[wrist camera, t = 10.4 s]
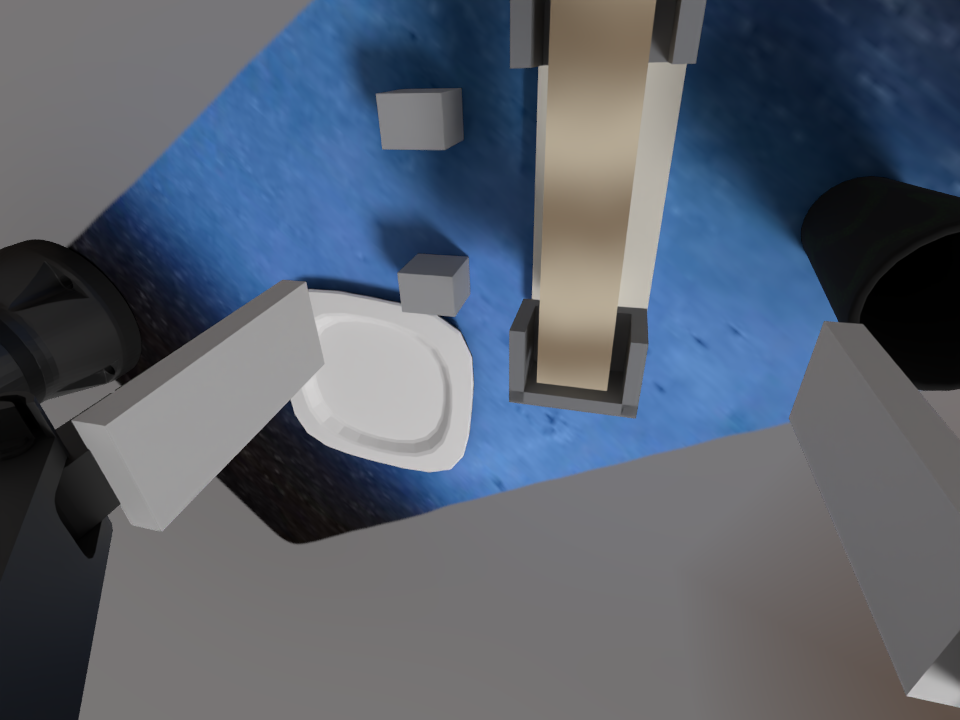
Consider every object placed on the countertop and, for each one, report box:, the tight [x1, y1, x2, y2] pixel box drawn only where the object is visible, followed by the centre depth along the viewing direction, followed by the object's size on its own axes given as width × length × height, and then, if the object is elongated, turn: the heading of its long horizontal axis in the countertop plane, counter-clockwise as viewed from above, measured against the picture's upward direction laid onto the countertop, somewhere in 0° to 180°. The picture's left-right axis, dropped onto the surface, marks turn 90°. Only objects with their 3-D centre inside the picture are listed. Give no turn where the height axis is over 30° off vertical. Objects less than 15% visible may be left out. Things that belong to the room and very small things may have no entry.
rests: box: [376, 88, 470, 317], centre depth 34 cm, size 4×14×4 cm, turn 2°
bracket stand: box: [509, 0, 706, 418], centre depth 27 cm, size 8×21×12 cm, turn 2°
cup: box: [801, 176, 960, 391], centre depth 25 cm, size 8×8×12 cm
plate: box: [291, 288, 474, 472], centre depth 45 cm, size 18×18×2 cm
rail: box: [537, 0, 656, 391], centre depth 23 cm, size 17×4×4 cm, turn 2°
